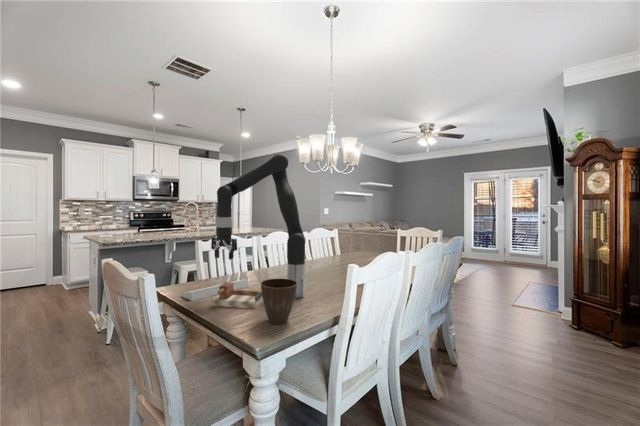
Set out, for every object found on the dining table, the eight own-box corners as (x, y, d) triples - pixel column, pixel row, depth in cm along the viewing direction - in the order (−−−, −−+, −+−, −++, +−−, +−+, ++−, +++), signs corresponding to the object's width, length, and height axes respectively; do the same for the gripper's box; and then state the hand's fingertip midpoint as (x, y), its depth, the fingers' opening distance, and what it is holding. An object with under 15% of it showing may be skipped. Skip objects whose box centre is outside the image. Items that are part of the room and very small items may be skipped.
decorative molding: (182, 302, 153) (192, 301, 147) (181, 293, 153) (191, 292, 147) (238, 288, 179) (248, 287, 173) (237, 280, 180) (247, 279, 174)
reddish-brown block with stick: (233, 294, 149) (233, 282, 148) (223, 302, 137) (223, 289, 136) (225, 294, 149) (225, 282, 149) (214, 302, 137) (214, 289, 137)
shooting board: (262, 300, 149) (262, 291, 149) (255, 308, 138) (256, 297, 138) (222, 298, 151) (222, 288, 151) (212, 306, 140) (212, 295, 140)
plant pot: (283, 311, 135) (283, 276, 135) (303, 322, 124) (304, 283, 123) (253, 319, 125) (254, 281, 125) (272, 331, 114) (273, 290, 114)
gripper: (240, 226, 149) (240, 258, 150) (218, 225, 155) (217, 256, 156) (230, 227, 143) (230, 261, 143) (207, 226, 148) (207, 258, 149)
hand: (223, 258), depth 149 cm, fingers open, 8 cm apart
